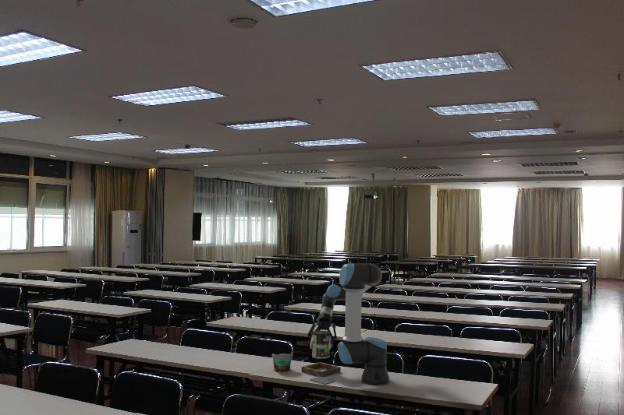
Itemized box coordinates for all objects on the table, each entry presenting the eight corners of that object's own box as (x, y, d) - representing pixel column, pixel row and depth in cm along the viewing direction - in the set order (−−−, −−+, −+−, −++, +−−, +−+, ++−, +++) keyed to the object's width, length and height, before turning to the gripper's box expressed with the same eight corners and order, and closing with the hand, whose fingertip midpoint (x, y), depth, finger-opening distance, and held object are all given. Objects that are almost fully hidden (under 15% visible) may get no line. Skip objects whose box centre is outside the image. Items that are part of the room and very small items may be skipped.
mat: (335, 381, 322) (335, 380, 322) (324, 384, 316) (324, 383, 316) (320, 377, 329) (320, 376, 329) (309, 380, 323) (309, 379, 323)
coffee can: (333, 356, 342) (333, 331, 342) (322, 359, 334) (323, 334, 334) (319, 353, 348) (319, 329, 348) (308, 356, 340) (308, 332, 340)
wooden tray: (340, 372, 341) (340, 367, 341) (322, 377, 329) (322, 372, 329) (320, 367, 352) (320, 362, 352) (301, 372, 340) (301, 366, 340)
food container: (273, 373, 337) (273, 355, 337) (271, 370, 343) (271, 353, 343) (294, 371, 340) (294, 354, 340) (292, 369, 346) (292, 352, 346)
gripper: (345, 320, 354) (340, 352, 338) (308, 319, 359) (301, 350, 343) (343, 313, 349) (338, 345, 333) (306, 311, 354) (299, 343, 338)
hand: (320, 348), depth 338 cm, fingers closed on coffee can, 10 cm apart
